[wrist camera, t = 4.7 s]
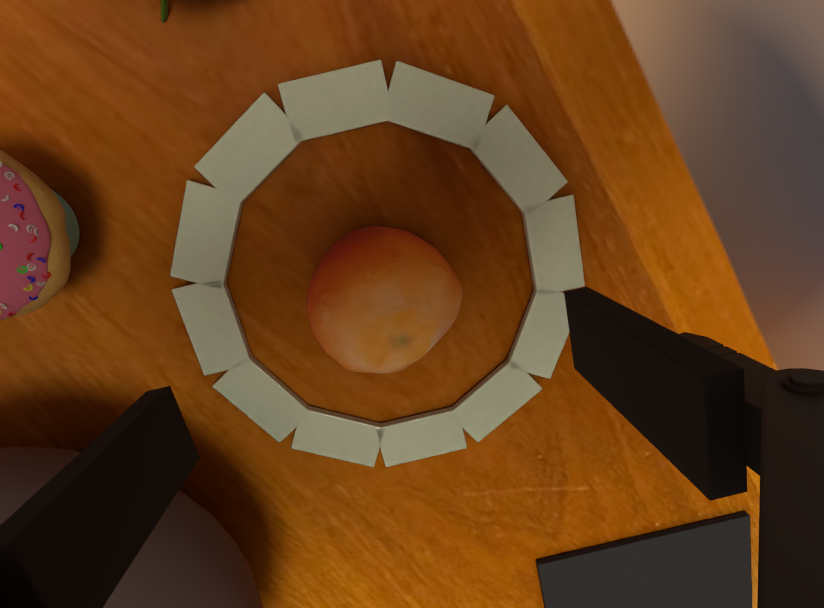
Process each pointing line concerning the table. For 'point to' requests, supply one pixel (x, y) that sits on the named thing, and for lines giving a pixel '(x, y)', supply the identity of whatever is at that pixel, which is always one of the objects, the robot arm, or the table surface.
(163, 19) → the pomegranate
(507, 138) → the segmented grey ring
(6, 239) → the cupcake
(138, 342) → the table surface
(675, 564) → the mat
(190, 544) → the smooth stone
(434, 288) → the fruit
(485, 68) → the table surface
